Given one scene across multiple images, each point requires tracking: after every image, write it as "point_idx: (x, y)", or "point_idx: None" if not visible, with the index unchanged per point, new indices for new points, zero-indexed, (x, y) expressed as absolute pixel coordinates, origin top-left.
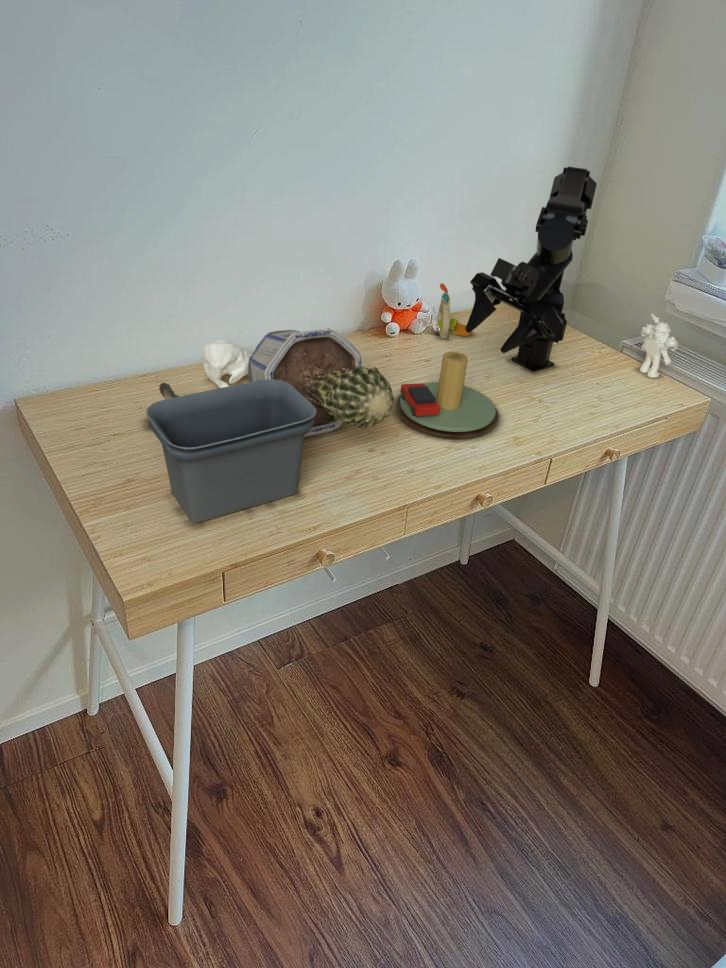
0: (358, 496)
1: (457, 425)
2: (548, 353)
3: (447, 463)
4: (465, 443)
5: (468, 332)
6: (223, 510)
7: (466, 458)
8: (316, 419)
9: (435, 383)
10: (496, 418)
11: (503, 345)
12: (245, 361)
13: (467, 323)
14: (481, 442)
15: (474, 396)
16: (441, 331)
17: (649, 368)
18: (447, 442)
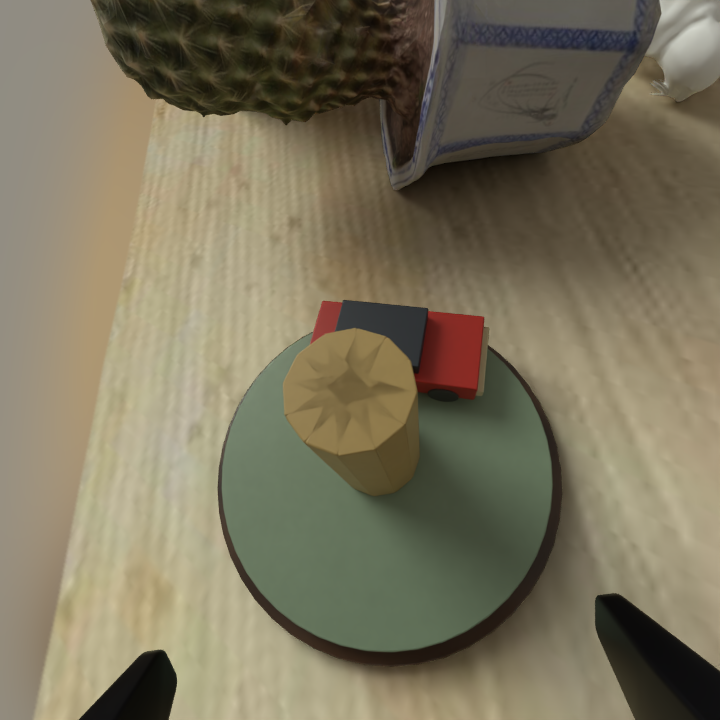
0: (185, 170)
1: (253, 411)
2: None
3: (176, 338)
4: (219, 423)
5: (596, 625)
6: None
7: (167, 389)
8: (395, 128)
9: (540, 493)
10: (261, 596)
11: (128, 684)
12: (661, 10)
13: (670, 636)
14: (201, 469)
15: (400, 593)
16: None
17: None
18: (245, 380)
